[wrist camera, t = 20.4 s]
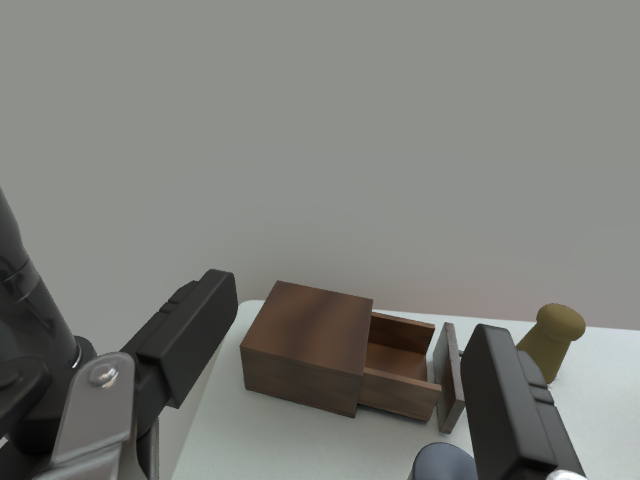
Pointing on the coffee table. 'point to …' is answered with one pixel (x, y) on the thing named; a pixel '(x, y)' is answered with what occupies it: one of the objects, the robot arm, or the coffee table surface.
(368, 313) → the cabinet
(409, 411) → the drawer
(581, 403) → the coffee table surface
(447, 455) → the slate tube
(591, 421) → the coffee table surface
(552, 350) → the pepper shaker
